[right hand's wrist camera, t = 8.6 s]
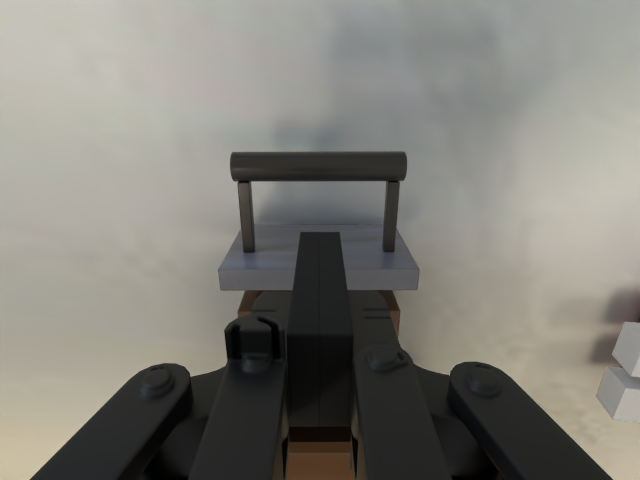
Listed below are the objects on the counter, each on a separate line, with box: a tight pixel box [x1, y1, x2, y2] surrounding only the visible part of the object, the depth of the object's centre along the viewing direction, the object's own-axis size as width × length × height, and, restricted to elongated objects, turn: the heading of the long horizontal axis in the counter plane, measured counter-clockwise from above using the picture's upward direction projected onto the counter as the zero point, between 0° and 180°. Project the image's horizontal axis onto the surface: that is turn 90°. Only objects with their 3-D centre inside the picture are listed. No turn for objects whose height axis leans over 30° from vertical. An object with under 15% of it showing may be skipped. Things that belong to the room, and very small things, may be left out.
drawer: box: [218, 152, 419, 442], centre depth 24 cm, size 22×10×7 cm, turn 0°
